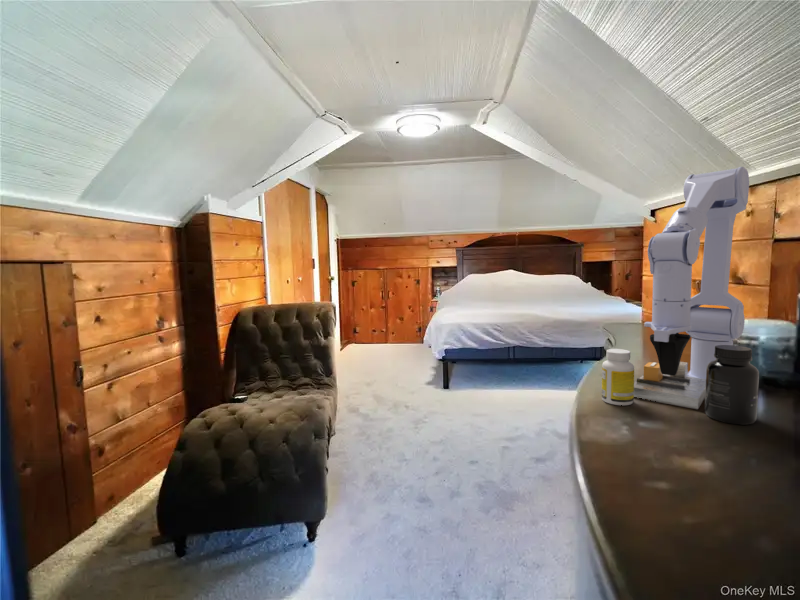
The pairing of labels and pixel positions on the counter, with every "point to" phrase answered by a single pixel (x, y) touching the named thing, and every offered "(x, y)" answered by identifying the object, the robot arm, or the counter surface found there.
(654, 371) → the orange cuboid
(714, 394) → the supplement bottle
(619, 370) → the supplement bottle
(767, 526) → the counter surface
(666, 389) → the strip
